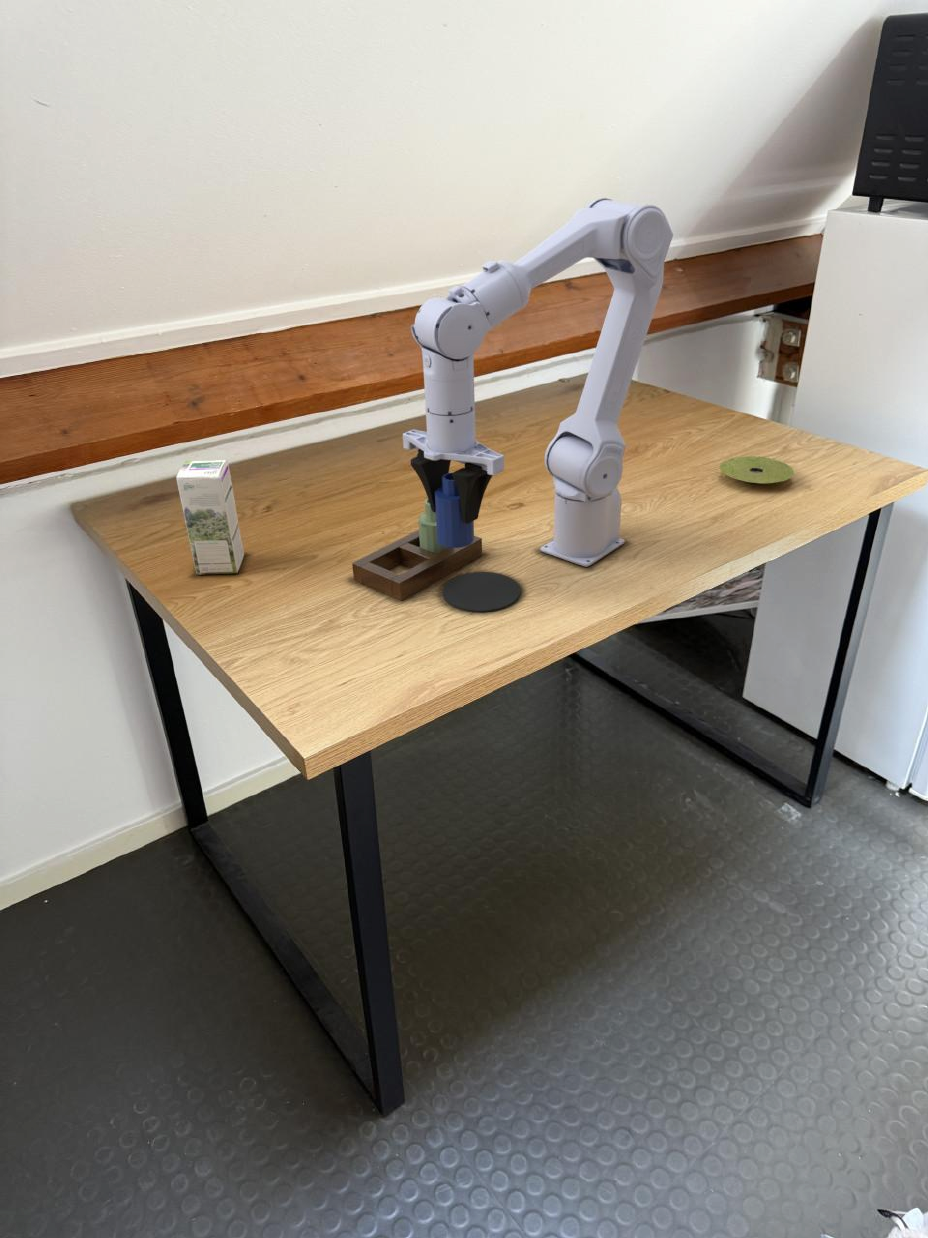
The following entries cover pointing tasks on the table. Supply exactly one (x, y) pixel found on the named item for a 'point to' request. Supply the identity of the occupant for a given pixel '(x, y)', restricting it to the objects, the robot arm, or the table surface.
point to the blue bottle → (451, 516)
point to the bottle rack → (411, 565)
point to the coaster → (481, 592)
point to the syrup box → (210, 516)
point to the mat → (756, 469)
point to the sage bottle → (429, 531)
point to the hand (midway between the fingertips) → (454, 514)
